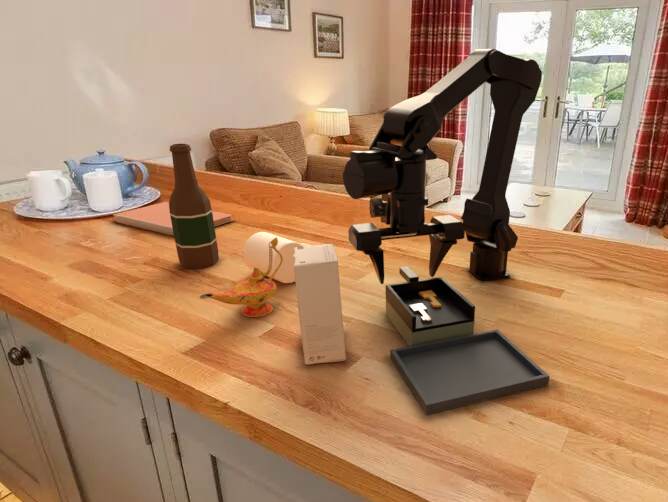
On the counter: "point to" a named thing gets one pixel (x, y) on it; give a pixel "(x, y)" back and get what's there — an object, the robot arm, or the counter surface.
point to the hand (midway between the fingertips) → (406, 279)
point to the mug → (259, 256)
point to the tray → (466, 370)
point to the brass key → (430, 298)
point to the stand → (429, 334)
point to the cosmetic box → (319, 303)
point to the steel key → (421, 311)
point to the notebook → (159, 218)
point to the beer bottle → (191, 214)
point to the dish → (428, 302)
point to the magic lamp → (252, 290)
